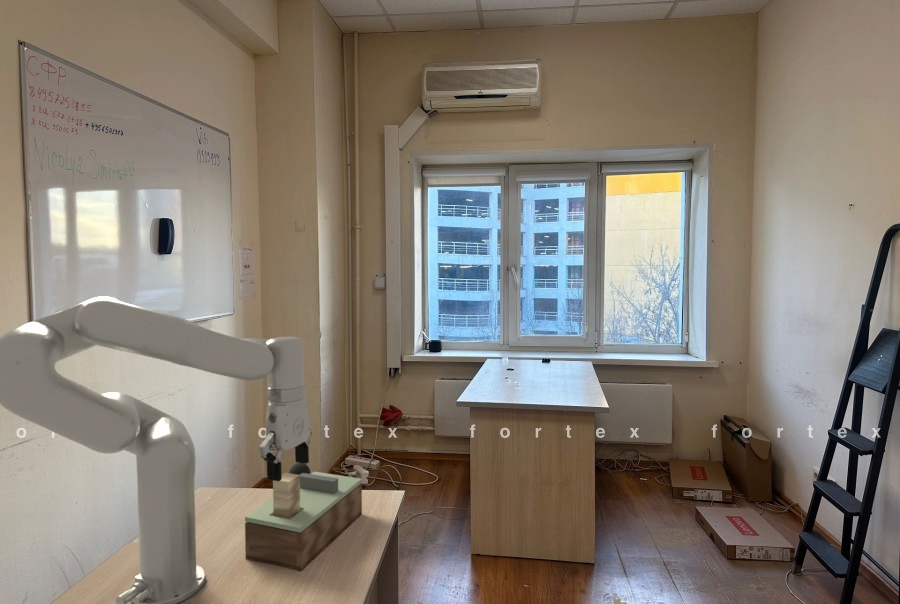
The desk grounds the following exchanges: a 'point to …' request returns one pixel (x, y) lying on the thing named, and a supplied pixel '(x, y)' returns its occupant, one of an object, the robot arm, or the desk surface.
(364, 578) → the desk surface
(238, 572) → the desk surface
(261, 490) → the desk surface
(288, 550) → the brown wooden box
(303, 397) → the robot arm
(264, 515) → the lid
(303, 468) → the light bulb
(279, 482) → the block
